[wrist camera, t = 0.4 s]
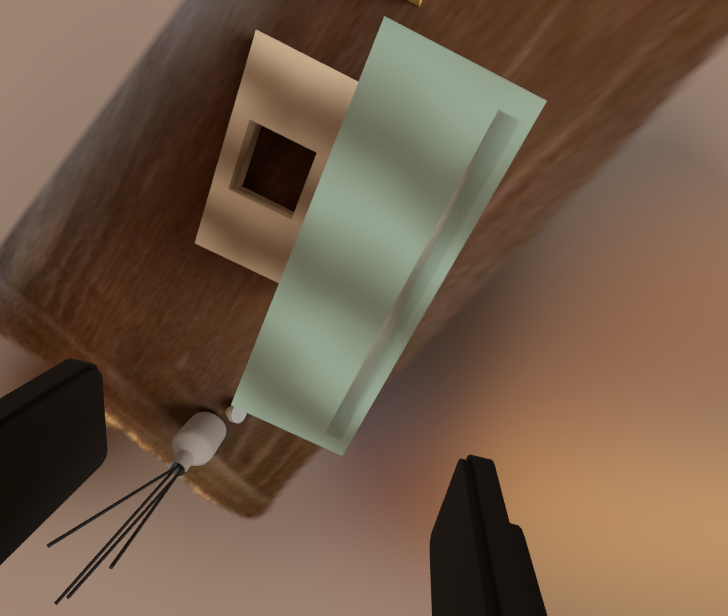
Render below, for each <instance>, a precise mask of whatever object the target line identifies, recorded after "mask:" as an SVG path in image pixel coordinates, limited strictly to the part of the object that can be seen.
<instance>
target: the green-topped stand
mask: <svg viewBox="0 0 728 616" xmlns="http://www.w3.org/2000/svg"><path fill="white" fill-rule="evenodd" d="M545 103H546V100H544V99H542V98H540V97H538V96H536V95H534V94H533V93H531V92H529V91H527V90H525V89H523V88H521V87H519V86H517V85H515V84H513V83H511V82H510V81H508V80H506V79H504V78H502V77H500V76H498V75H496V74H494V73H492V72H490V71H488V70H487V69H485V68H483V67H481V66H479V65H477V64H475V63H473V62H471V61H469V60H467V59H465V58H464V57H462V56H460V55H458V54H456V53H454V52H452V51H450V50H448V49H446V48H444V47H442V46H440V45H439V44H437V43H435V42H433V41H431V40H429V39H427V38H425V37H423V36H421V35H419V34H417V33H416V32H414V31H412V30H410V29H408V28H406V27H404V26H402V25H400V24H398V23H396V22H394V21H393V20H391V19H389V18H387V17H385V16H384V19H383V21H382V24H381V26H380V29H379V31H378V34H377V36H376V39H375V42H374V44H373V47H372V49H371V52H370V54H369V57H368V59H367V62H366V64H365V67H364V69H363V72H362V74H361V77H360V80H359V82H358V81H356V80H354V79H352V78H350V77H348V76H346V75H344V74H342V73H340V72H338V71H336V70H334V69H332V68H330V67H328V66H326V65H324V64H322V63H320V62H318V61H317V60H315V59H313V58H311V57H309V56H307V55H305V54H303V53H301V52H299V51H297V50H295V49H293V48H291V47H289V46H287V45H285V44H283V43H281V42H279V41H277V40H275V39H273V38H271V37H269V36H268V35H266V34H264V33H262V32H260V31H258V30H256V31H255V35H254V38H253V42H252V45H251V49H250V52H249V56H248V59H247V63H246V66H245V70H244V73H243V77H242V80H241V84H240V87H239V90H238V94H237V97H236V101H235V104H234V108H233V111H232V115H231V118H230V122H229V125H228V129H227V132H226V136H225V139H224V143H223V146H222V150H221V153H220V157H219V160H218V164H217V167H216V171H215V174H214V178H213V181H212V184H211V188H210V191H209V195H208V198H207V202H206V205H205V209H204V212H203V216H202V219H201V223H200V226H199V230H198V233H197V237H196V240H195V244H197V245H200V246H202V247H204V248H206V249H208V250H210V251H212V252H214V253H216V254H218V255H221V256H223V257H225V258H227V259H229V260H231V261H233V262H235V263H237V264H239V265H242V266H244V267H246V268H248V269H250V270H252V271H254V272H256V273H258V274H261V275H263V276H265V277H267V278H269V279H271V280H273V281H275V282H277V283H279V285H278V287H277V290H276V292H275V295H274V298H273V300H272V303H271V305H270V308H269V310H268V313H267V315H266V318H265V320H264V323H263V325H262V328H261V331H260V333H259V336H258V338H257V341H256V343H255V346H254V348H253V351H252V353H251V356H250V358H249V361H248V363H247V366H246V369H245V371H244V374H243V376H242V379H241V381H240V384H239V386H238V389H237V391H236V394H235V396H234V399H233V401H232V404H231V406H234V407H236V408H238V409H240V410H242V411H245V412H247V413H249V414H251V415H253V416H256V417H258V418H260V419H262V420H264V421H267V422H269V423H271V424H273V425H275V426H278V427H280V428H282V429H284V430H286V431H289V432H291V433H293V434H295V435H297V436H300V437H302V438H304V439H306V440H308V441H311V442H313V443H315V444H317V445H319V446H322V447H324V448H326V449H328V450H330V451H333V452H335V453H337V454H339V455H341V456H342V455H343V454H344V452H345V450H346V449H347V447H348V445H349V443H350V441H351V440H352V438H353V436H354V435H355V433H356V431H357V429H358V428H359V426H360V424H361V422H362V421H363V419H364V417H365V416H366V414H367V412H368V410H369V409H370V407H371V405H372V403H373V402H374V400H375V398H376V396H377V395H378V393H379V391H380V390H381V388H382V386H383V384H384V383H385V381H386V379H387V377H388V376H389V374H390V372H391V370H392V369H393V367H394V365H395V364H396V362H397V360H398V358H399V357H400V355H401V353H402V351H403V350H404V348H405V346H406V344H407V343H408V341H409V339H410V337H411V336H412V334H413V332H414V331H415V329H416V327H417V325H418V324H419V322H420V320H421V318H422V317H423V315H424V313H425V311H426V310H427V308H428V306H429V305H430V303H431V301H432V299H433V298H434V296H435V294H436V292H437V291H438V289H439V287H440V285H441V284H442V282H443V280H444V278H445V277H446V275H447V273H448V272H449V270H450V268H451V266H452V265H453V263H454V261H455V259H456V258H457V256H458V254H459V252H460V251H461V249H462V247H463V246H464V244H465V242H466V240H467V239H468V237H469V235H470V233H471V232H472V230H473V228H474V226H475V225H476V223H477V221H478V219H479V218H480V216H481V214H482V213H483V211H484V209H485V207H486V206H487V204H488V202H489V200H490V199H491V197H492V195H493V193H494V192H495V190H496V188H497V186H498V185H499V183H500V181H501V180H502V178H503V176H504V174H505V173H506V171H507V169H508V167H509V166H510V164H511V162H512V160H513V159H514V157H515V155H516V154H517V152H518V150H519V148H520V147H521V145H522V143H523V141H524V140H525V138H526V136H527V134H528V133H529V131H530V129H531V127H532V126H533V124H534V122H535V121H536V119H537V117H538V115H539V114H540V112H541V110H542V108H543V107H544V105H545ZM262 126H264V127H266V128H268V129H270V130H272V131H274V132H276V133H278V134H280V135H282V136H284V137H286V138H288V139H290V140H292V141H294V142H296V143H298V144H300V145H302V146H304V147H306V148H308V149H310V150H312V151H314V152H316V153H317V154H316V156H315V159H314V162H313V164H312V167H311V170H310V172H309V175H308V177H307V180H306V183H305V185H304V188H303V191H302V193H301V196H300V198H299V201H298V204H297V206H296V209H295V212H293V211H291V210H289V209H287V208H285V207H283V206H281V205H279V204H277V203H275V202H273V201H271V200H269V199H267V198H265V197H263V196H261V195H259V194H256V193H254V192H252V191H250V190H248V189H246V188H244V187H242V186H243V183H244V180H245V177H246V174H247V171H248V167H249V164H250V161H251V158H252V155H253V152H254V149H255V145H256V142H257V139H258V136H259V133H260V130H261V127H262Z"/></svg>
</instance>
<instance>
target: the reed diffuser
mask: <svg viewBox="0 0 728 616" xmlns="http://www.w3.org/2000/svg"><path fill="white" fill-rule="evenodd" d="M225 413H226V415H227V416H228V419H229V420H230V421H231V422H234V423H240V422H242V421H243V420H244V418H245V417H246V413H247V412H245V411H242V410H240V409H238V408H236V407H234V406H231V407H228V408H227V409H226V411H225ZM225 435H226V427H225V424H224V422H223V421H222V420H221V419H220V418H219V417H218V416H216V415H215V414H212V413H209V412H199V413H196V414H195V415H194V416H192V417H191V418H190V420H189V421H188V422H187V423H186V424H185V425H184V426H183V427H182V428H181V429H180V430H179V431H178V433H177V434H176V436H175V437H174V440H173V444H172V447H173V451H174V454H175V455H176V456H175V457H174V458H173V460H172V461H171V462H170V464H169V465H168V469H169V470H168V471H167V472H165V473H163V474H162V475H160V476H158V477H157V478H155V479H153V480H152V481H150V482H149V483H147V484H145V485H144V486H142V487H141V488H139V489H137V490H136V491H134V492H132V493H131V494H129V495H127V496H126V497H124V498H122V499H121V500H119V501H117V502H116V503H114V504H113V505H111V506H109V507H108V508H106V509H104V510H103V511H101V512H100V513H98V514H96V515H95V516H93V517H91V518H90V519H88V520H86V521H85V522H83V523H82V524H80V525H78V526H77V527H75V528H73V529H72V530H70V531H68V532H67V533H65V534H64V535H62V536H60V537H59V538H57V539H55V540H54V541H52V542H50V543H49V544H47V547H48V548H49V547H51V546H52V545H54V544H55V543H57V542H59V541H60V540H62V539H64V538H65V537H66V536H68V535H70V534H72V533H73V532H75V531H76V530H78V529H80V528H81V527H83V526H84V525H86V524H88V523H89V522H91V521H92V520H94V519H96V518H97V517H99V516H101V515H102V514H104V513H105V512H107V511H109V510H110V509H112V508H114V507H115V506H117V505H118V504H120V503H122V502H123V501H125V500H126V499H128V498H130V497H131V496H133V495H135V494H136V493H138V492H139V491H141V490H142V489H144V488H146V487H147V486H149V485H150V484H152V483H154V482H155V481H157V480H159V479H160V478H162V477H164V476H165V475H167V474H168V473H169V474H168V475H167V477H166V478H165V479H164V480H163V481H162V482H161V483H160V484H159V485H158V487H157V488H156V489H155V490H154V491H153V492H152V493H151V494H150V496H149V497H148V498H147V499H146V500H145V501H144V502H143V503H142V505H141V506H140V507H139V508H138V509H137V510H136V511H135V513H134V514H133V515H132V516H131V517H130V518H129V519H128V520H127V521H126V523H125V524H124V525H123V526H122V527H121V528H120V529H119V531H118V532H117V533H116V534H115V535H114V536H113V537H112V538H111V540H110V541H109V542H108V543H107V544H106V545H105V546H104V547H103V548H102V550H101V551H100V552H99V553H98V554H97V555H96V556H95V558H94V559H93V560H92V561H91V562H90V563H89V564H88V565H87V566H86V568H85V569H84V570H83V571H82V572H81V573H80V574H79V575H78V577H77V578H76V579H75V580H74V581H73V582H72V584H71V585H70V586H69V587H68V588H67V589H66V590H65V591H64V592H63V594H62V595H61V596H60V597H59V598H58V599H57V600H56V601H55V604H56V605H57V604H58V603H59V602H60V601H61V599H62V598H63V597H64V596H65V595H66V594H67V593H68V592H69V591H70V589H71V588H72V587H73V586H74V585H75V584H76V583H77V581H78V580H79V579H80V578H81V577H82V576H83V575H84V573H85V572H86V571H87V570H88V569H89V568H90V567H91V565H92V564H93V563H94V562H95V561H96V560H97V559H98V558H99V556H100V555H101V554H102V553H103V552H104V551H105V550H106V548H107V547H108V546H109V545H110V544H111V543H112V541H114V539H115V538H116V537H117V536H118V535H119V534H120V533H121V531H122V530H123V529H124V528H125V527H126V526H127V525H128V523H129V522H130V521H131V520H132V519H133V518H134V517H135V515H136V514H137V513H138V512H139V511H140V510H141V508H143V506H144V505H145V504H146V503H147V502H148V501H149V500H150V498H151V497H152V496H153V495H154V494H155V493H156V492H157V490H158V489H159V488H160V487H161V486H162V485H163V484H164V483H165V481H166V480H167V479H168V478H169V477H170V476H171V475H172V474H174V475H175V476H174V477H173V479H172V480H171V481H170V482H169V483H168V484H167V485H166V486H165V488H164V489H163V490H162V491H161V492H160V493H159V494H158V495H157V496H156V498H155V499H154V500H153V501H152V502H151V503H150V504H149V505H148V506H147V507H146V509H145V510H144V511H143V512H142V513H141V514H140V515H139V516H138V517H137V519H136V520H135V521H134V522H133V523H132V524H131V525H130V526H129V527H128V529H127V530H126V531H125V532H124V533H123V534H122V535H121V536H120V537H119V539H118V540H117V541H116V542H115V543H114V544H113V545H112V546H111V547H110V549H109V550H108V551H107V552H106V553H105V554H104V555H103V556H102V557H101V559H100V560H99V561H98V562H97V563H96V564H95V565H94V566H93V568H92V569H91V570H90V571H89V572H88V573H87V574H86V575H85V577H83V579H82V580H81V581H80V582H79V583H78V584H77V585H76V586H75V588H74V589H73V590H72V591H71V592H70V593H69V594H68V595H67V598H68V599H69V598H70V597H71V596H72V595H73V594H74V593H75V591H76V590H77V589H78V588H79V587H80V586H81V585H82V583H84V581H85V580H86V579H87V578H88V577H89V576H90V575H91V574H92V572H93V571H94V570H95V569H96V568H97V567H98V566H99V564H100V563H101V562H102V561H103V560H104V559H105V558H106V557H107V555H108V554H109V553H110V552H111V551H112V550H113V549H114V548H115V546H116V545H117V544H118V543H119V542H120V541H121V540H122V539H123V538H124V536H125V535H126V534H127V533H128V532H129V531H130V530H131V529H132V527H133V526H134V525H135V524H136V523H137V521H139V519H140V518H141V517H142V516H143V515H144V514H145V512H147V511H148V509H149V508H150V507H151V506H152V505H153V504H154V503H155V502H156V503H155V504H154V506H153V507H152V508H151V510H150V511H149V513H148V514H147V515H146V517H145V518H144V519H143V521H142V522H141V524H140V525H139V526H138V528H137V529H136V531H135V532H134V533H133V535H132V536H131V538H130V539H129V540H128V541H127V543H126V544H125V546H124V547H123V549H122V550H121V551H120V553H119V554H118V555H117V557H116V558H115V560H114V561H113V562H112V564H111V565H110V567H109V568H110V569H112V568H113V567H114V566H115V564H116V563H117V561H118V560H119V559H120V557H121V556H122V554H123V553H124V552H125V550H126V549H127V547H128V546H129V545H130V543H131V542H132V540H133V539H134V537H135V536H136V535H137V533H138V532H139V530H140V529H141V528H142V526H143V525H144V523H145V522H146V520H147V519H148V517H149V516H150V515H151V514H152V512H153V511H154V509H155V508H156V506H157V505H158V504H159V502H160V501H161V499H162V498H163V497H164V495H165V493H166V492H167V491H168V489H169V488H170V487H171V485H172V484H173V482H174V481H175V480H176V478H177V477H178V476H182V475H184V474H185V472H186V471H187V470H188V468H189V467H190V466H191V465H192V466H198V465H203V464H205V463H207V462H208V461H209V460H210V459H211V458H212V457H213V456H214V455H215V454H216V453H217V452H218V450H219V449H220V447H221V445H222V444H223V442H222V441H223V439H224V438H225ZM158 498H159V499H158ZM157 499H158V500H157ZM156 500H157V501H156Z"/></svg>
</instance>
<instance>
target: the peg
mask: <svg viewBox="0 0 728 616" xmlns="http://www.w3.org/2000/svg"><path fill="white" fill-rule="evenodd" d="M408 1H410V2H412V3H414V4H416V5H417V6H419V7H420V4H421V2H422V0H408Z"/></svg>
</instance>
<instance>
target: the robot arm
mask: <svg viewBox="0 0 728 616" xmlns="http://www.w3.org/2000/svg"><path fill="white" fill-rule="evenodd" d="M106 456H107V438H106V424H105V410H104V396H103V382H102V374H101V373H100V372H99V371H98V369H97V367H96V365H95V364H92V363H88V362H84V361H80V360H76V359H67V360H65V361H63V362H61V363H60V364H58V365H56V366H55V367H53V368H51V369H49V370H48V371H46V372H44V373H43V374H41V375H39V376H38V377H36V378H34V379H33V380H31V381H29V382H27V383H26V384H24V385H22V386H21V387H19V388H17V389H15V390H14V391H12V392H11V393H9V394H7V395H5V396H4V397H2V398H1V399H0V565H1V564H2V563H3V562H4V561H5V560H6V559H7V558H8V557H9V556H10V555H11V554H12V553H13V552H14V551H15V550H16V549H17V548H18V547H19V546H20V545H21V544H22V543H23V542H24V541H25V540H26V539H27V538H28V537H29V536H30V535H31V534H32V533H33V532H34V531H35V530H36V529H37V528H38V527H39V526H40V525H41V524H42V523H43V522H44V521H45V520H46V519H47V518H48V517H49V516H50V515H51V514H53V512H55V511H56V509H58V508H59V507H60V505H62V504H63V503H64V501H66V500H67V499H68V498H69V496H71V495H72V494H73V493H74V492H75V491H76V490H77V489H78V488H79V487H80V486H81V485H82V484H83V483H84V482H85V481H86V480H87V479H88V478H89V477H90V476H91V475H92V474H93V473H94V472H95V471H96V470H97V469H98V468H99V467H100V466H101V465H102V463H103V462H104V460H105V458H106ZM430 571H431V572H430V574H431V599H432V600H431V601H432V616H547V613H546V609H545V606H544V602H543V599H542V596H541V592H540V589H539V585H538V582H537V578H536V575H535V571H534V568H533V564H532V561H531V558H530V554H529V550H528V547H527V543H526V540H525V536H524V534H523V532H522V529H521V528H520V527H519V526H518V525H515V524H511V523H510V522H509V519H508V515H507V511H506V507H505V503H504V500H503V496H502V491H501V488H500V484H499V480H498V476H497V472H496V468H495V464H494V462H493V461H492V460H491V459H486V458H482V457H478V456H474V455H469V456H468V457H467V458H466V460H465V459H459V461H458V463H457V466H456V468H455V471H454V474H453V476H452V479H451V482H450V485H449V487H448V490H447V493H446V495H445V498H444V501H443V503H442V506H441V509H440V511H439V514H438V517H437V520H436V522H435V525H434V528H433V530H432V533H431V538H430Z"/></svg>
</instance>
